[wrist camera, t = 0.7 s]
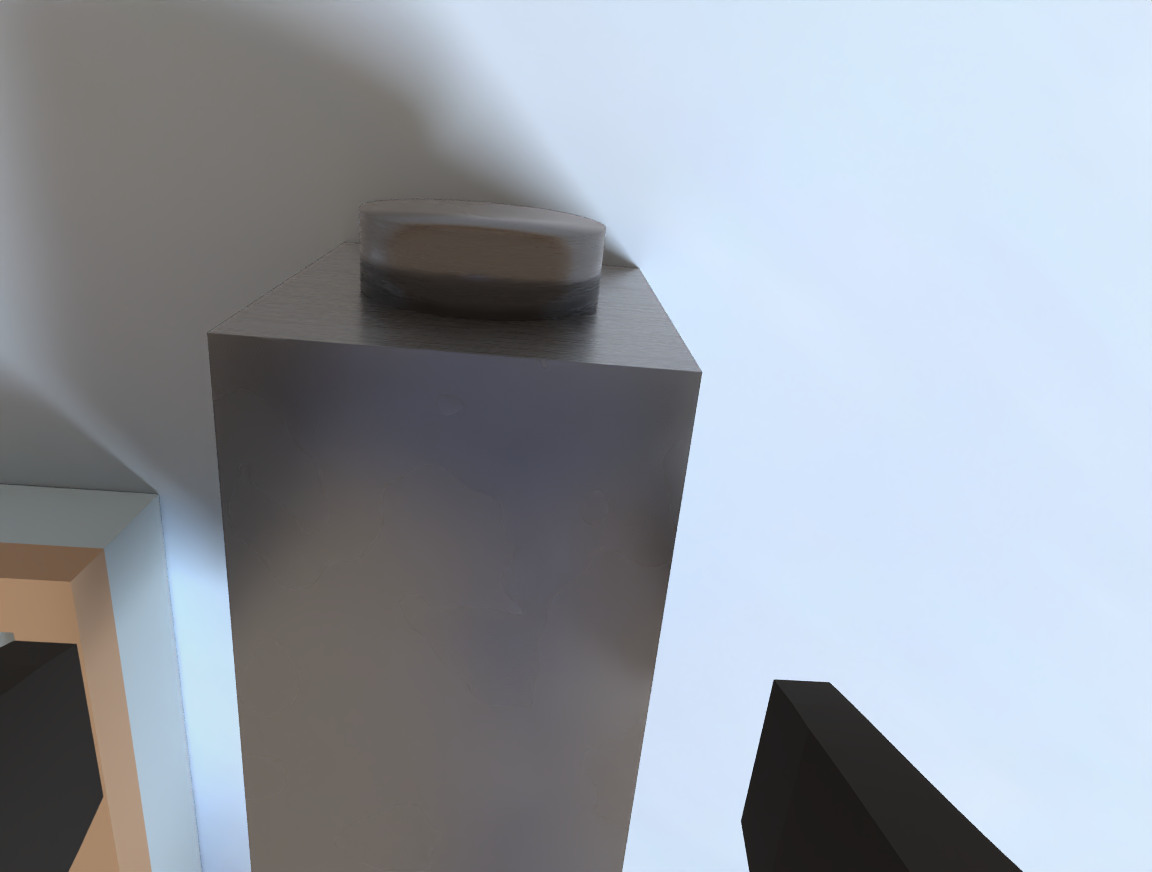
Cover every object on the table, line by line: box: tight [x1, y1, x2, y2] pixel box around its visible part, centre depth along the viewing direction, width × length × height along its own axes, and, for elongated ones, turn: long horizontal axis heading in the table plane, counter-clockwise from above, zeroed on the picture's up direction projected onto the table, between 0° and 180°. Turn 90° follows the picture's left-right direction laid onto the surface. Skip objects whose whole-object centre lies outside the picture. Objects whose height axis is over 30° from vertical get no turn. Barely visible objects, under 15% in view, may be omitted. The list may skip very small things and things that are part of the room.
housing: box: [207, 199, 702, 872], centre depth 12 cm, size 9×5×6 cm, turn 174°
